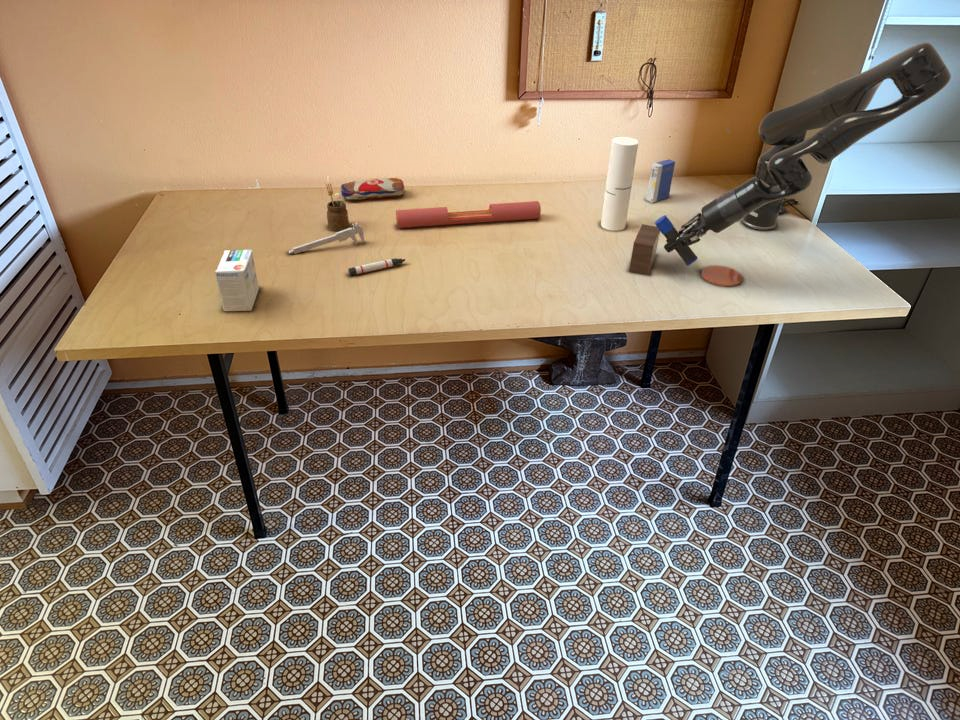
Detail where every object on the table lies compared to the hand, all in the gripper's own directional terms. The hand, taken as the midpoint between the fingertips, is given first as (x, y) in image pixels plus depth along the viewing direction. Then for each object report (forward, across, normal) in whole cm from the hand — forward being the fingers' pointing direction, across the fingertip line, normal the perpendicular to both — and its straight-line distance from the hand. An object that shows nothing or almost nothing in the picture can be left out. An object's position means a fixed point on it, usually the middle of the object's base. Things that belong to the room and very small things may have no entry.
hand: (667, 246), depth 183 cm
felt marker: (-3, 0, 0) cm, 3 cm away
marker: (+53, -31, +44) cm, 75 cm away
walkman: (+11, +45, +2) cm, 46 cm away
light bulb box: (+69, -57, +60) cm, 108 cm away
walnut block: (+8, 0, 0) cm, 8 cm away
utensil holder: (+69, -13, +59) cm, 92 cm away
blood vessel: (+45, +5, +36) cm, 58 cm away
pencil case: (+70, +10, +60) cm, 92 cm away
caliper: (+66, -26, +57) cm, 91 cm away
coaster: (-6, 0, -15) cm, 16 cm away
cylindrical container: (+17, +20, +8) cm, 27 cm away
